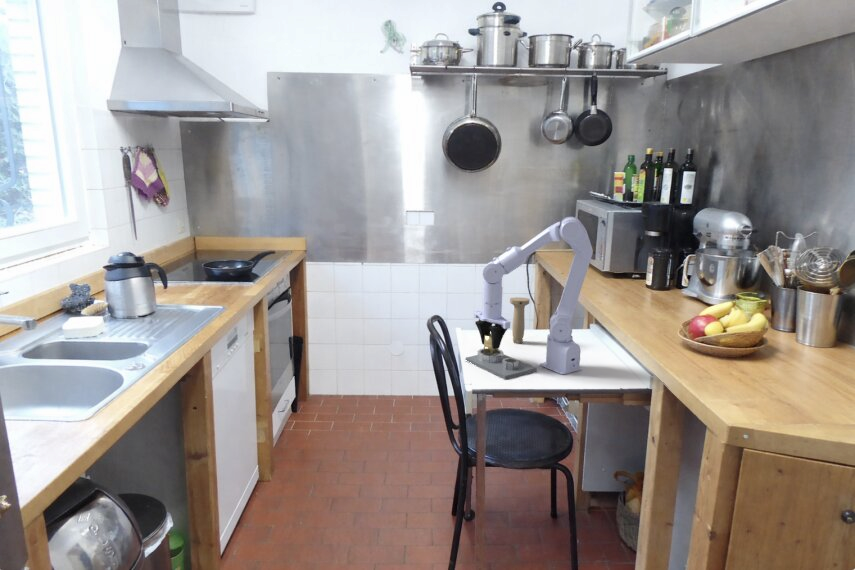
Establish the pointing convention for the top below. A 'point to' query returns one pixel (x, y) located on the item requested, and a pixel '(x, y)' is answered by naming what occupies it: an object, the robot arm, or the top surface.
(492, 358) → the wide collar
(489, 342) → the brass peg
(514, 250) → the robot arm
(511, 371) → the board
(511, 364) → the narrow collar
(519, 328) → the handle
